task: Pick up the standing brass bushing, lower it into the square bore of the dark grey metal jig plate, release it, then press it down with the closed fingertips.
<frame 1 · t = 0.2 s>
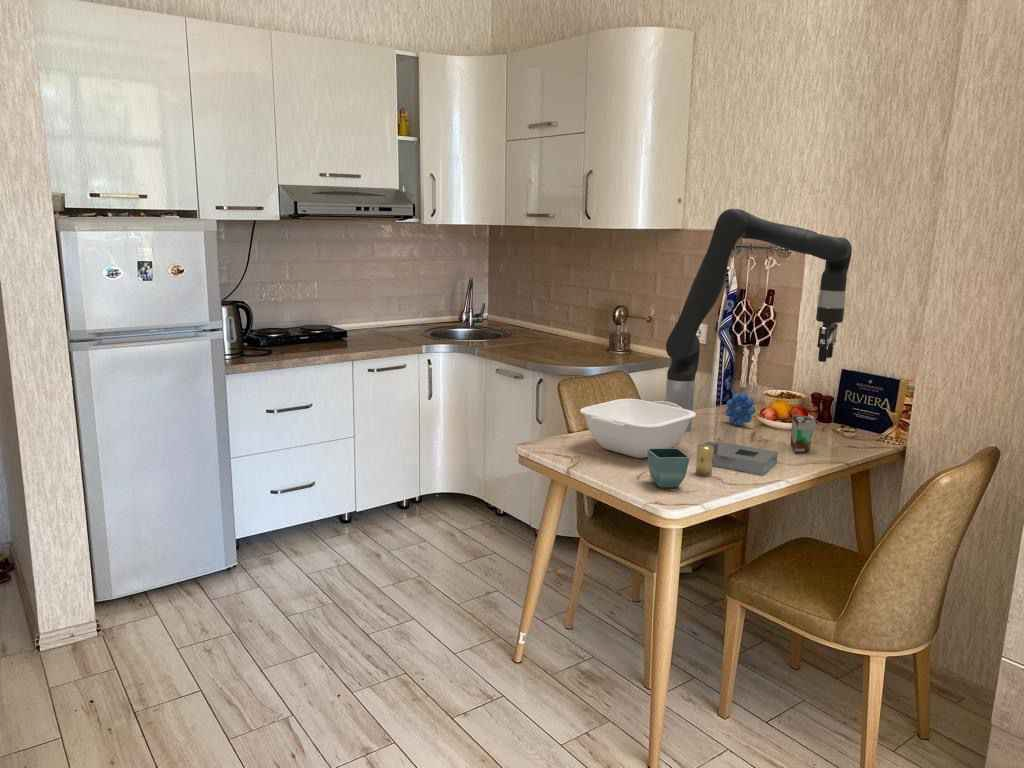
hand: (825, 359, 234), 29 cm above the table, fingers open, 8 cm apart
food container: (802, 450, 242), on the table
jig: (738, 463, 227), on the table
baking dish: (635, 451, 238), on the table
flower pot: (666, 485, 207), on the table
grapes: (740, 426, 270), on the table
bushing: (703, 474, 216), on the table
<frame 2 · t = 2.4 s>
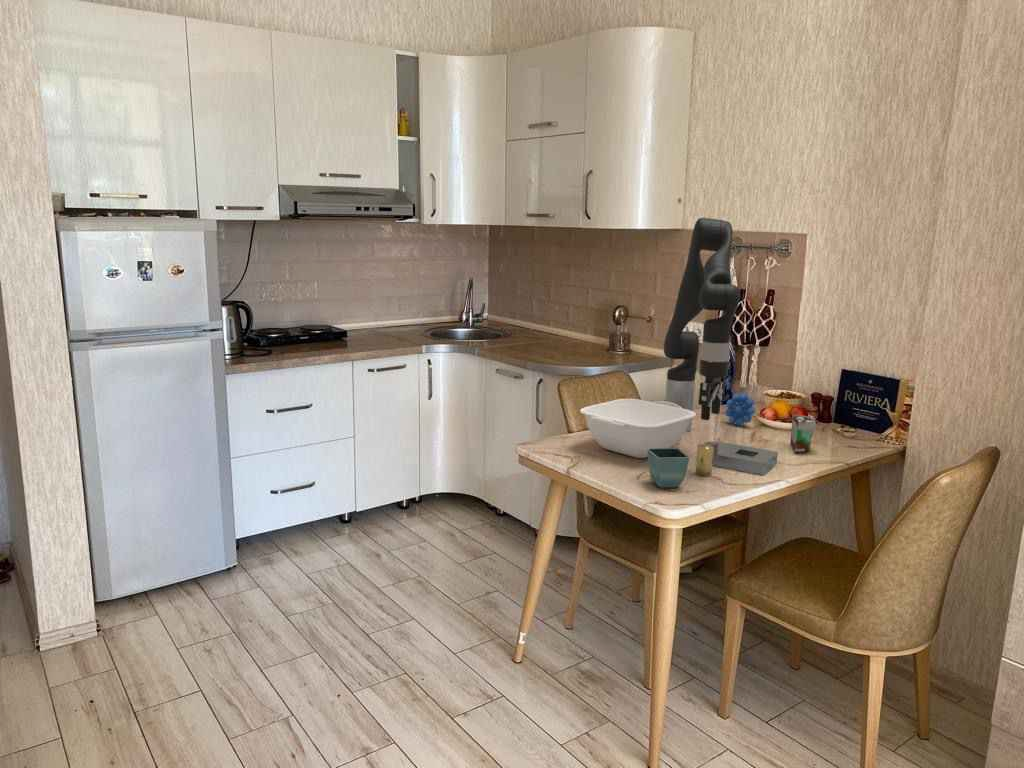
hand: (710, 416, 213), 17 cm above the table, fingers open, 8 cm apart
nothing on the table moved.
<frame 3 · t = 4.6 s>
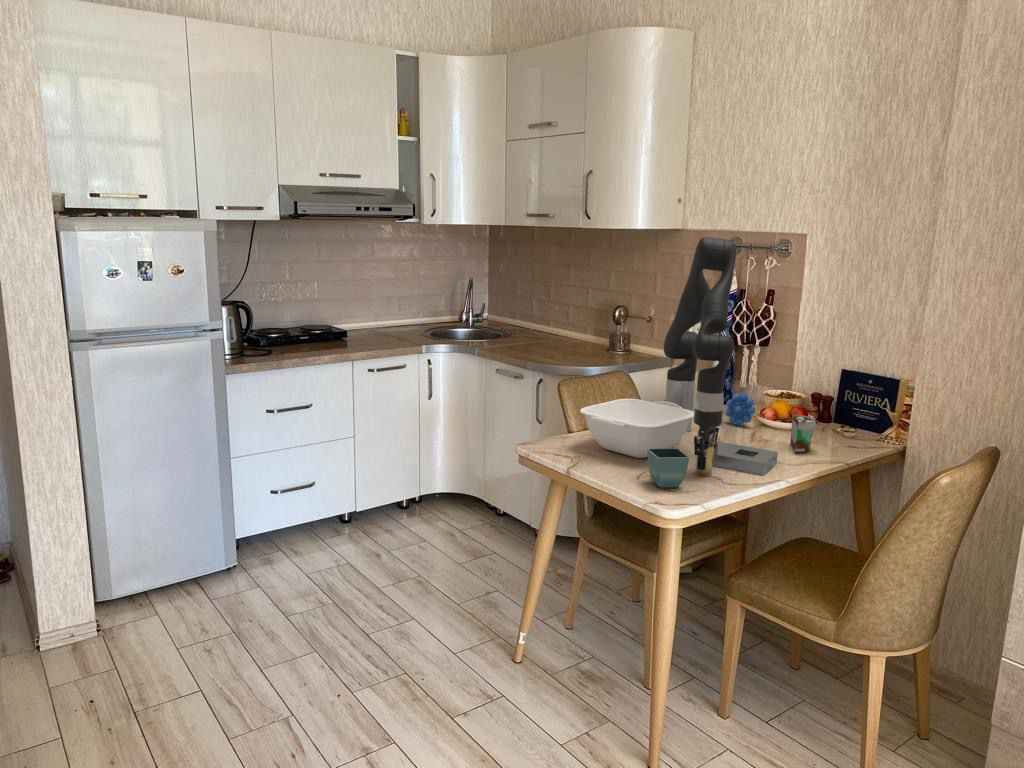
hand: (704, 466, 216), 2 cm above the table, fingers closed on bushing, 4 cm apart
bushing: (703, 474, 216), on the table, touching gripper
everything else where it was.
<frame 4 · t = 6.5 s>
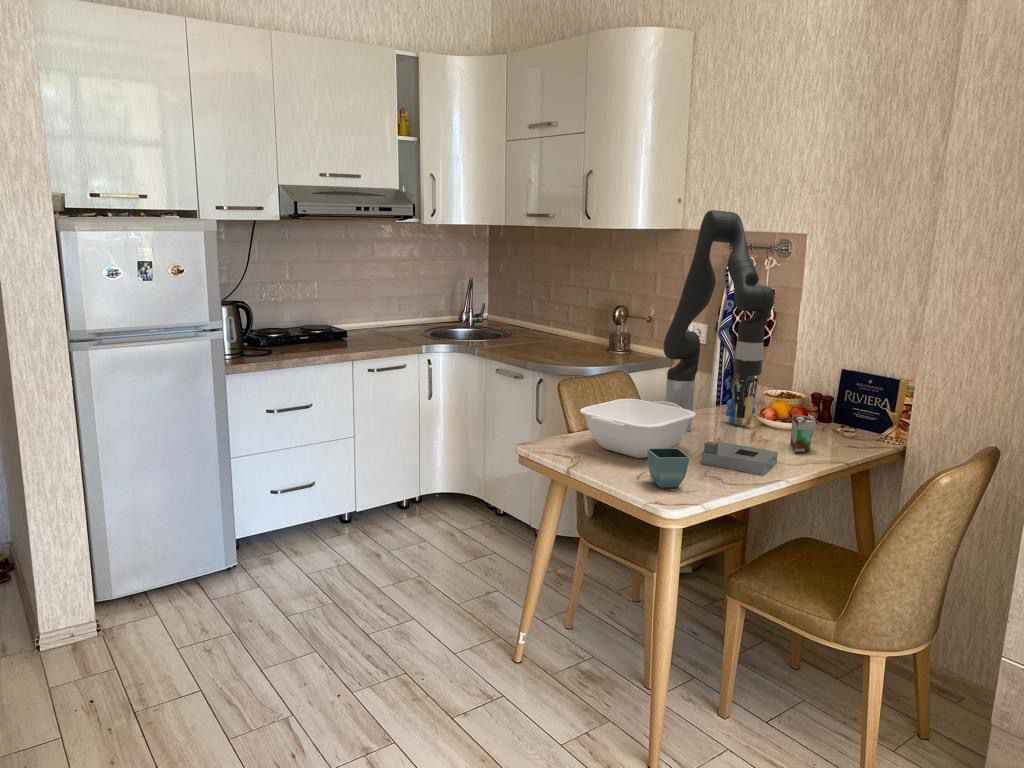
hand: (743, 415, 222), 15 cm above the table, fingers closed on bushing, 4 cm apart
bushing: (742, 422, 223), point 13 cm above the table, touching gripper
everything else where it was.
when the fingers open (5 cm above the table, at t = 8.4 s): bushing drops 2 cm, resting in jig.
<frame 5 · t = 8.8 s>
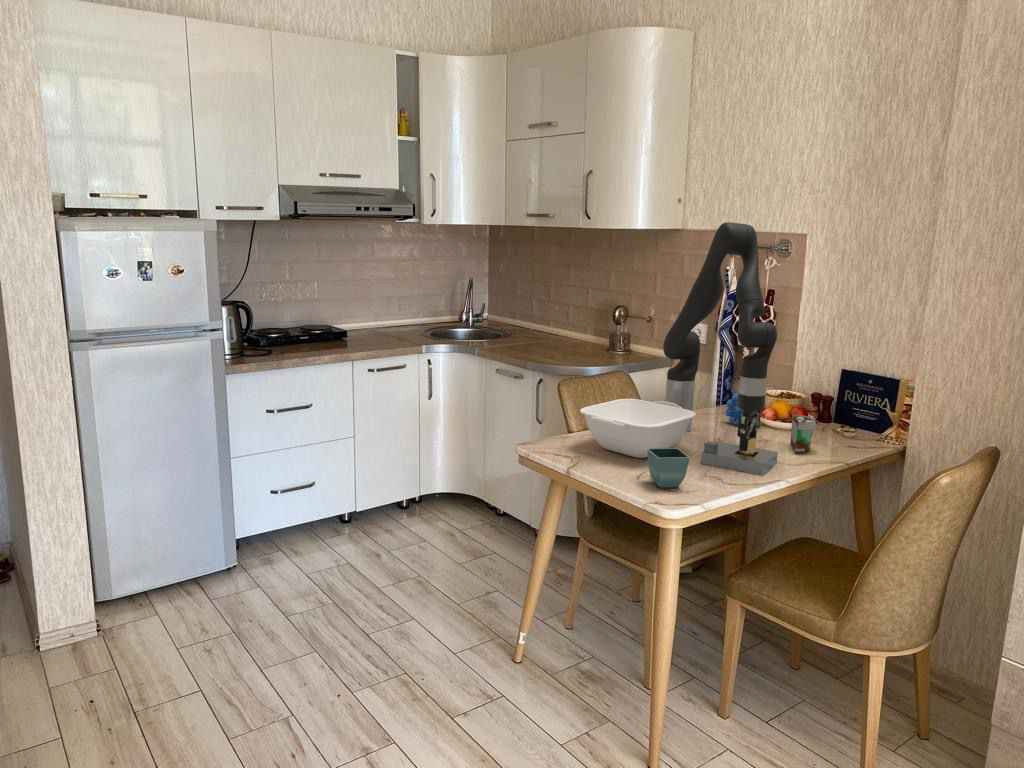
hand: (747, 447, 225), 5 cm above the table, fingers open, 7 cm apart
bushing: (745, 464, 226), resting in jig
everything else where it was.
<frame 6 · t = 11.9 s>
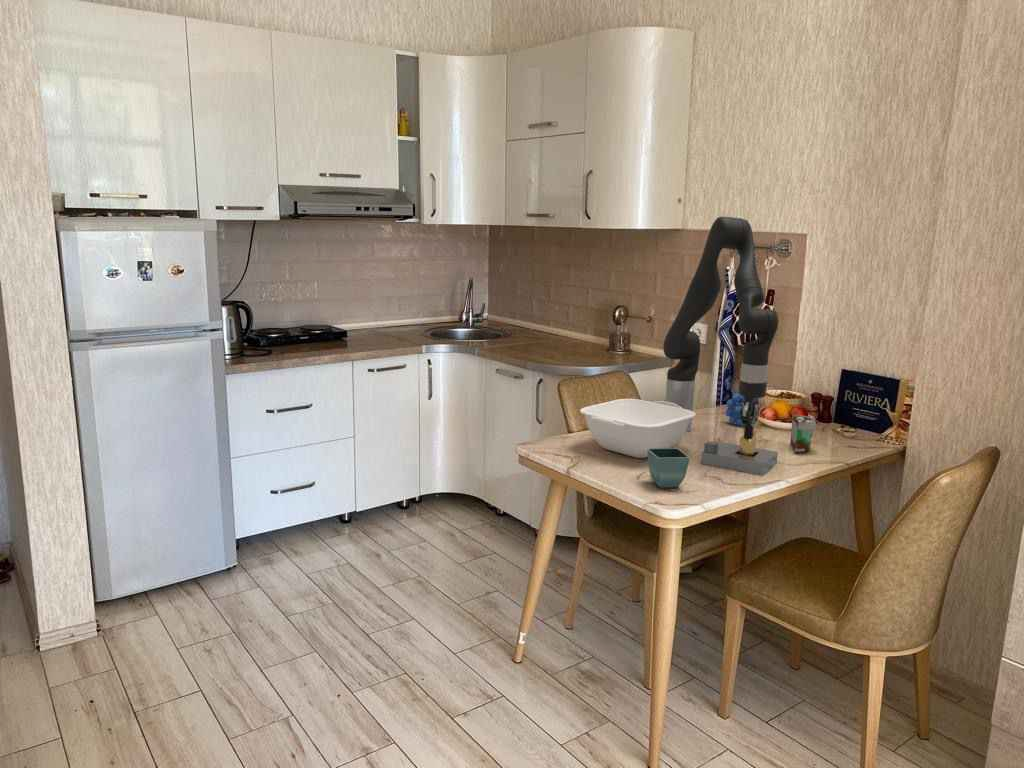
hand: (748, 438, 224), 8 cm above the table, fingers closed
nothing on the table moved.
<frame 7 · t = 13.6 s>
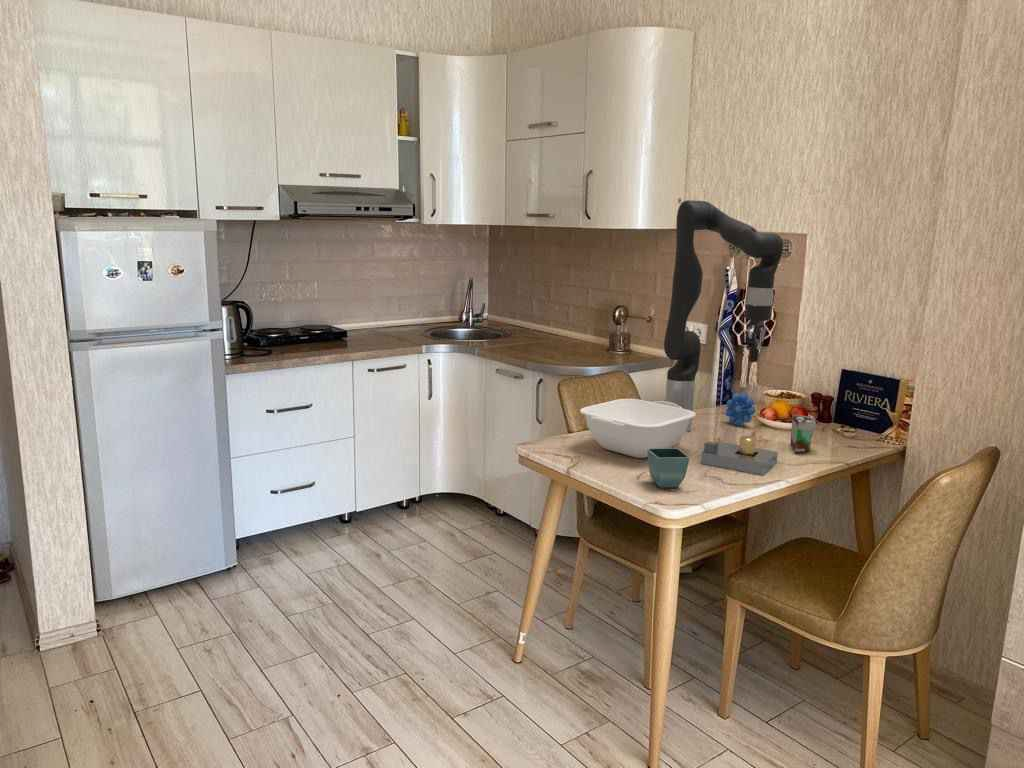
hand: (753, 361, 230), 29 cm above the table, fingers closed
nothing on the table moved.
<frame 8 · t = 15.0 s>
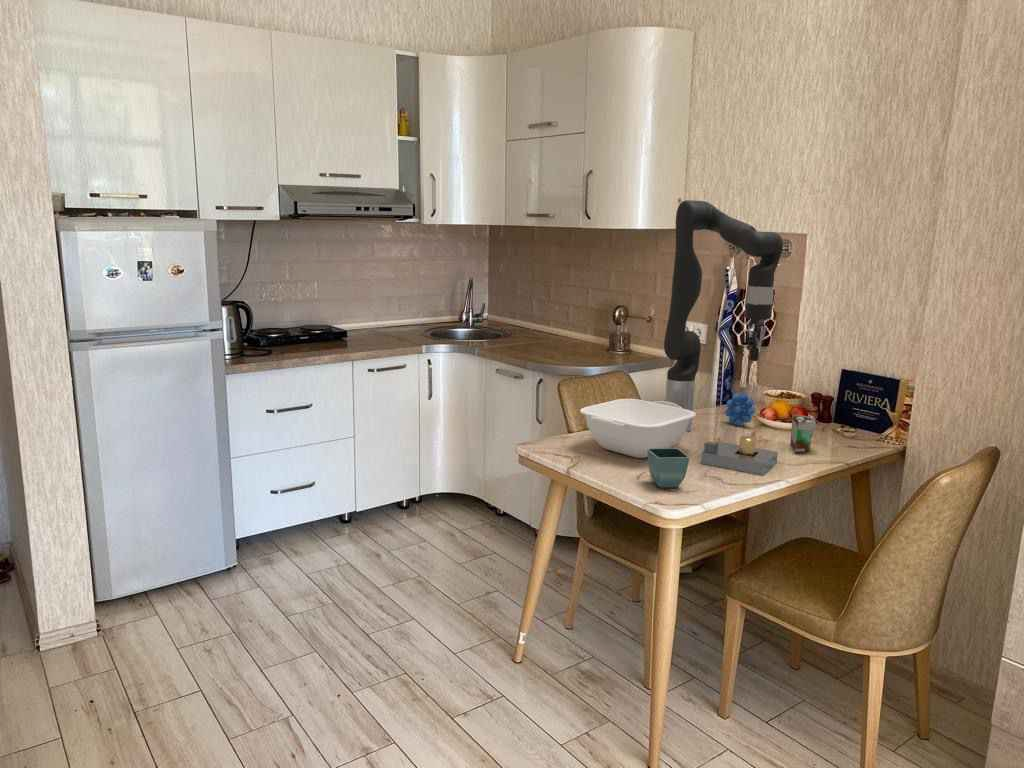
hand: (754, 360, 230), 29 cm above the table, fingers closed
nothing on the table moved.
at the end: bushing 0.1 cm from the target spot on the jig, point 0.0 cm above the jig's base; bushing tilted 0°; the gripper is holding nothing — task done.
